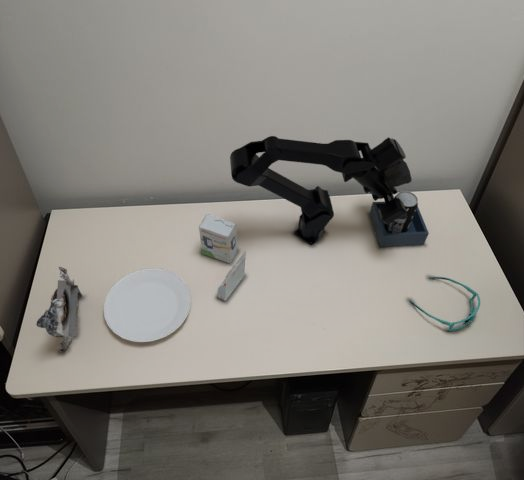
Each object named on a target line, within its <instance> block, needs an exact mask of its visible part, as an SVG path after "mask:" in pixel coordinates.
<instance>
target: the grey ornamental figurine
mask: <svg viewBox="0 0 524 480" xmlns="http://www.w3.org/2000/svg"><path fill="white" fill-rule="evenodd" d="M58 270H59V275H60V276H59V277H60V278H59V279H58V280H57V288H56V289H55V290H54V292H53V294H52V295H51V297H50V305H49V307H48V308H47V309H45V311H44V313H43V314H41V316H40V317H39V318H38V319H37V321H36V324H35V325H36V327H37V328H40V329H45V331H46V333H47V334H48V335H49V336H51V337H53V338H62V341H61V342H60V343H59V345H58V346H59V348H60V349H59V350H58V351H59V352H60V353H62V352H65V351H67V350H68V348H69V347H70V346H71V342H72V340H73V338H76V334H77V320H78V319H77V318H78V316H77V310H78V306H79V303H78V300H79V298H82V297H83V294H82V292H81V291H80V289H79V285H77V284H75V279H74V278H73V279H71V278H70V276H69V274H68V270H67V268H64V267H62V266H58Z"/></svg>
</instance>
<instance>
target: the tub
mask: <svg viewBox="0 0 524 480" xmlns="http://www.w3.org/2000/svg"><path fill="white" fill-rule="evenodd" d="M384 204H386V203H385V201H372V203H371V206H370V211H369V214H368V215H369V218H370V222H371V224H372V227H373V231H374V234H375V238H376V240H377V244H378V246H379V248H395V247H397V248H398V247H412V246H413V247H414V246H415V247H416V246H424V245H425V244H426V243H425V242H426V240H427V238H428V236H429V234H430V233H429V230H428V228H427V225H426V223H425V220H424V217H423V216H422V213H421V211H420V210H421V209H420V208H419V205H418V206H417V209H416V211H415V214H414V216H413V219H412V221H411V223H410V226H409V228H408V230H407V232H405V233H390V232H389V231H388V230H387V229H386V227H385V223H384V222H383V221H381V218H380V215H379V212H378V210H379V207H381V206H382V205H384Z"/></svg>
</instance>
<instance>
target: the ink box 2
mask: <svg viewBox="0 0 524 480" xmlns="http://www.w3.org/2000/svg"><path fill="white" fill-rule="evenodd" d="M246 257H247V252H246V250H244V252H243V253H242V254H241V255H240V257H239V258H238V260H237V261H236V262H235V263H234V265H233V266H232V267H231V268H230V269H229V271H228V272H227V274H226V275H225V278H224V280H223V282H222V283H221V284H220V286H218V288H217V298H218V299H219V300H222V301H224V302H226V301H227V300H228V299H229V297H230V296H231V295H232V293H233V292H234V291H235V289H237V286H238V285H240V283H241V281H242V280H243V279H244V278H245V272H246V271H245V270H246V259H247V258H246Z"/></svg>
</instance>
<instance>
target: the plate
mask: <svg viewBox="0 0 524 480" xmlns="http://www.w3.org/2000/svg"><path fill="white" fill-rule="evenodd" d="M191 302H192V296H191V292H190V289H189V287H188V285H187V283H186V281H184V280H183V279H182V278H181V277H180V276H179V275H178V274H176V273H174V272H173V271H170V270H166V269H164V268H155V267H154V268H153V267H149V268H142V269H138V270H135V271H132V272H130V273H127V274H126V275H125V276H122V277H121V278H120V279H119V280H118V281H116V282H115V283H114V284H113V286H112V287H111V288H110V289H109V290H108V293H107V295H106V297H105V299H104V304H103V317H104V320H105V322H106V324H107V326H108V328H109V329H110V330H111V331H112V332H113V333H114V334H115V335H116V336H118V337H119V338H121V339H123V340H127V341H130V342H135V343H148V342H156V341H158V340H161V339H164V338H166V337H168V336H169V335H171V334H172V333H174V332H175V331H177V330H178V329H179V328H180V327H181V326H182V325H183V323H184V322H185V320H186V319H187V317H188V316H189V312H190V310H191V305H192V303H191Z"/></svg>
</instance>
